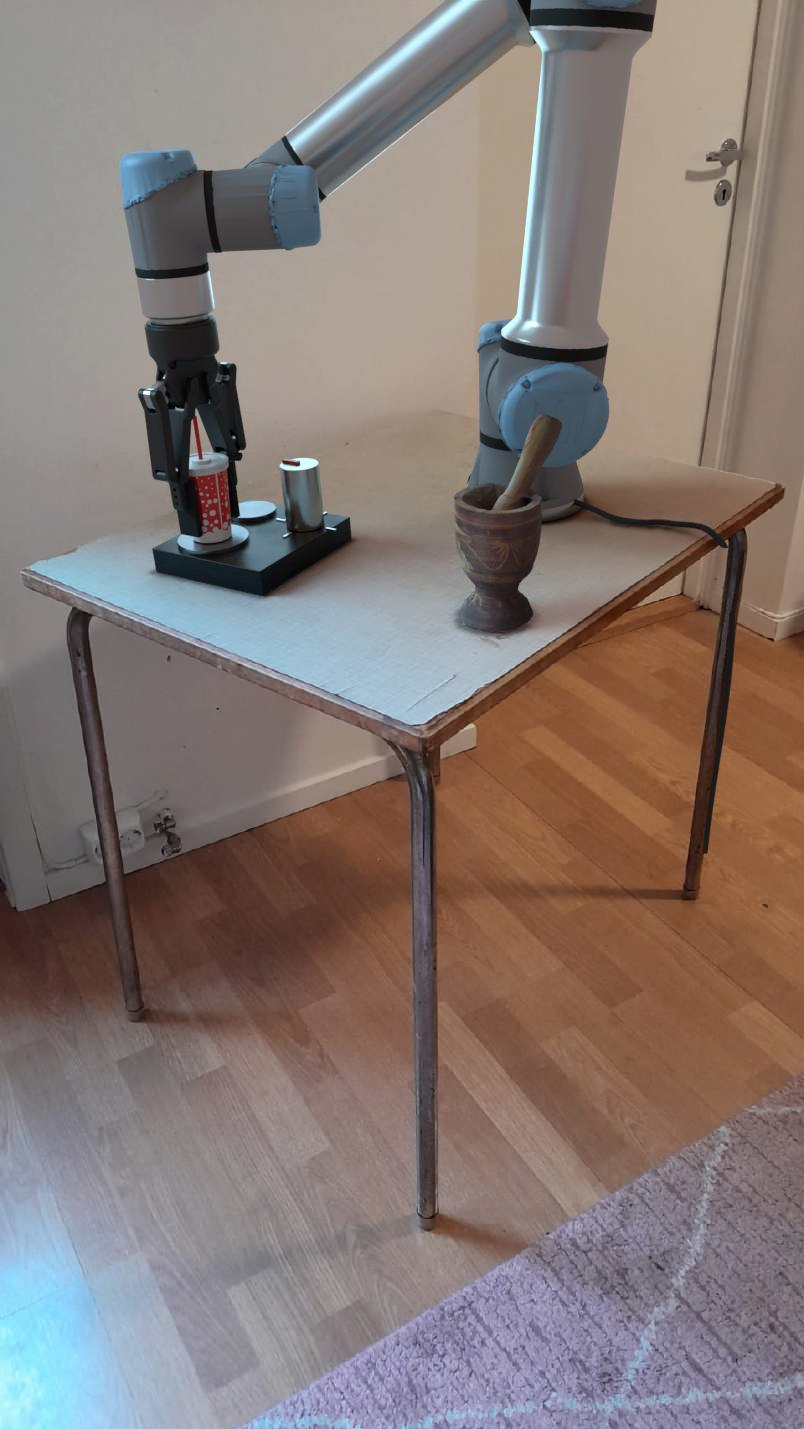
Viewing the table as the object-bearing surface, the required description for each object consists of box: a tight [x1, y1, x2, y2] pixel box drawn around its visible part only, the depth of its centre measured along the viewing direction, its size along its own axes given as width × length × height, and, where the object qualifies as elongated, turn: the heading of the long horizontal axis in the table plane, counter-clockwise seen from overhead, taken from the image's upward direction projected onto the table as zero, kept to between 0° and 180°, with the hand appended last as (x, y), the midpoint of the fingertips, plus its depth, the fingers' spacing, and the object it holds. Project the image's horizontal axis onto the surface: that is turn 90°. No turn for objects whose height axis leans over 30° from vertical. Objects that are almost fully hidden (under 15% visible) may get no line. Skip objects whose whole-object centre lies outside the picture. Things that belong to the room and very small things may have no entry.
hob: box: [151, 498, 353, 597], centre depth 125 cm, size 17×18×3 cm
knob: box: [279, 457, 325, 532], centre depth 124 cm, size 5×5×8 cm
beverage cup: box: [176, 415, 232, 543], centre depth 119 cm, size 6×6×14 cm
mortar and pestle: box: [452, 413, 562, 633], centre depth 105 cm, size 12×9×20 cm
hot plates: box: [177, 500, 277, 556], centre depth 126 cm, size 9×16×1 cm, turn 149°
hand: (210, 524), depth 122 cm, fingers closed on beverage cup, 6 cm apart
